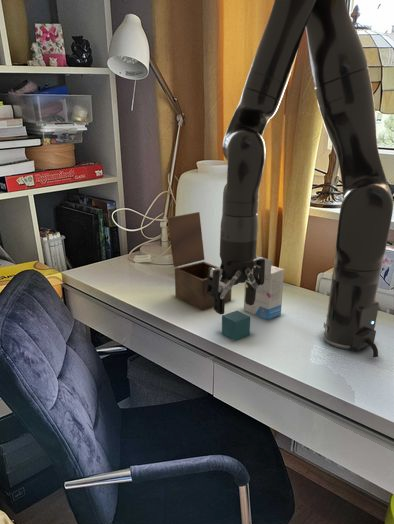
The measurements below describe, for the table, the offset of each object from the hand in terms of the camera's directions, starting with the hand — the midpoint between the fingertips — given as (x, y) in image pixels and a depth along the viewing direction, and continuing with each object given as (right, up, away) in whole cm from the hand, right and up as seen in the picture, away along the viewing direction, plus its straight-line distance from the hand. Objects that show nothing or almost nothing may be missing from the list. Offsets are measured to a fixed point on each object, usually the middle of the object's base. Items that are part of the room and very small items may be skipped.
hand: (235, 308), depth 105 cm
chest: (-7, +4, +21) cm, 22 cm away
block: (0, -6, +2) cm, 6 cm away
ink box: (+8, 0, +13) cm, 15 cm away
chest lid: (-11, +19, +19) cm, 29 cm away
